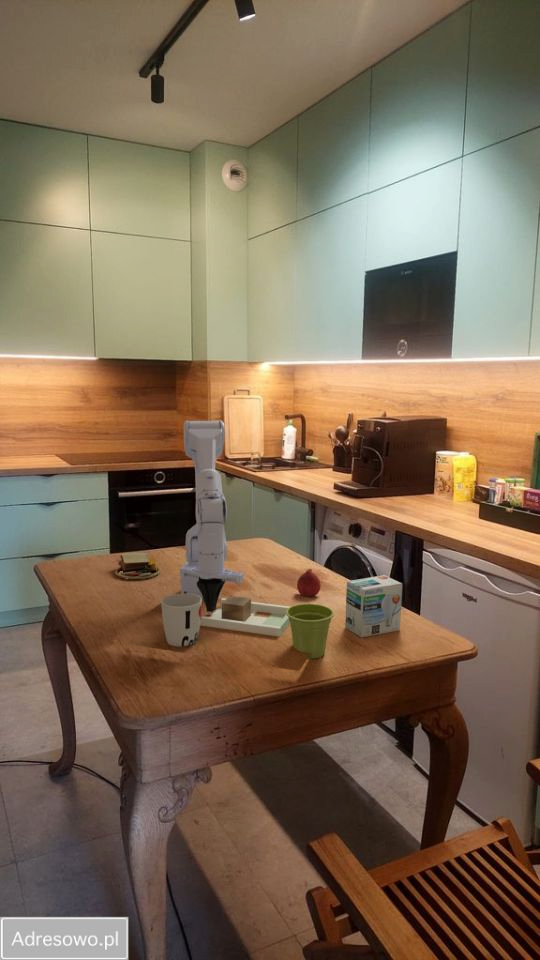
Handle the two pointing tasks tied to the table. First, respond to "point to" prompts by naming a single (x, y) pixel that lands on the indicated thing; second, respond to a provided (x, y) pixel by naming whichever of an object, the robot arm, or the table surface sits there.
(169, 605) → the cup
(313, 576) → the onion
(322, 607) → the plant pot
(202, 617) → the tray
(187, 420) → the robot arm
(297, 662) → the table surface
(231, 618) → the block
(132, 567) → the toy sandwich meal
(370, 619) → the light bulb box
